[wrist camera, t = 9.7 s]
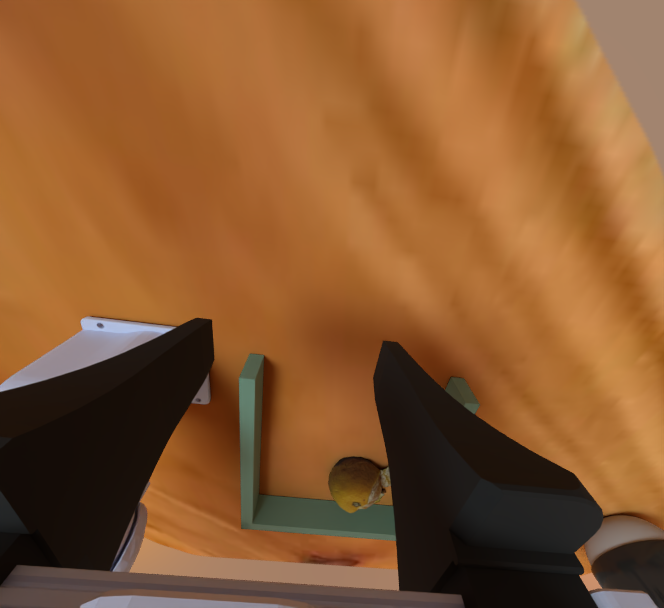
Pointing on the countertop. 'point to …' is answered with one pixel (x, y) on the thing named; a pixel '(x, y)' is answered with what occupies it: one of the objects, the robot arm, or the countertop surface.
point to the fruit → (357, 483)
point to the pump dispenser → (628, 556)
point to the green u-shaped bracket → (301, 511)
